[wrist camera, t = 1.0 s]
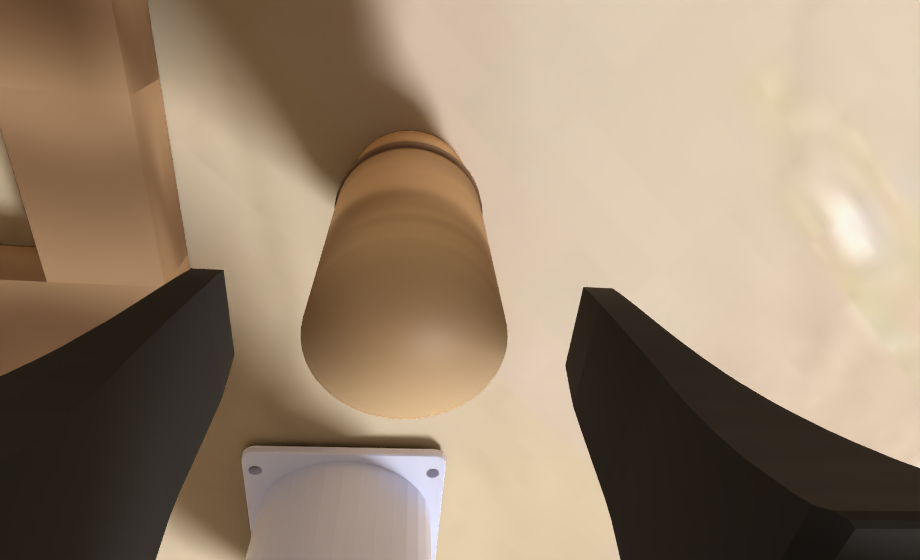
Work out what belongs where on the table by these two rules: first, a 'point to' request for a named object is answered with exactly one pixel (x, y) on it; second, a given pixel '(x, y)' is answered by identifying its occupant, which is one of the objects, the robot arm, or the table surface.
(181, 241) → the board
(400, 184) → the peg
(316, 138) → the table surface
